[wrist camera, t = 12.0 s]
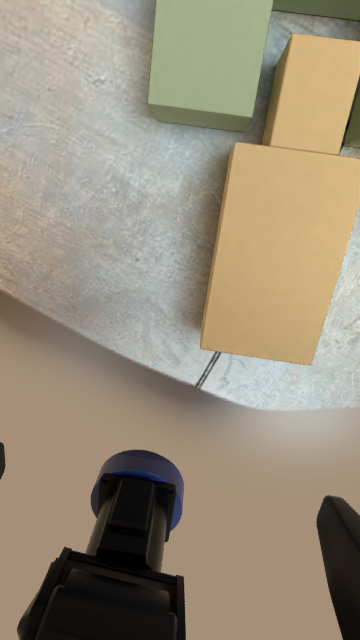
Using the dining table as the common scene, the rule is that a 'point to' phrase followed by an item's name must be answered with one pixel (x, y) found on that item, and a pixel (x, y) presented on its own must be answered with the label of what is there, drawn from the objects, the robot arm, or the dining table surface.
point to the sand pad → (287, 211)
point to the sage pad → (222, 59)
